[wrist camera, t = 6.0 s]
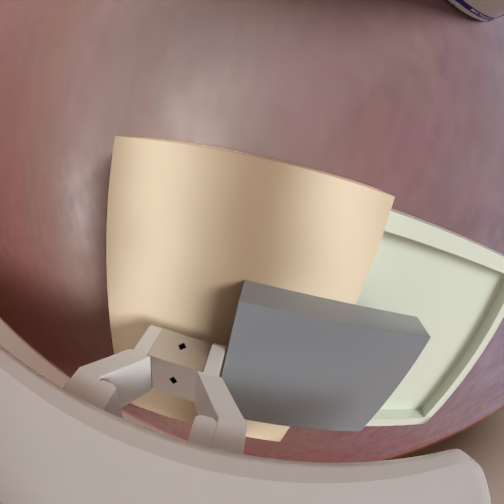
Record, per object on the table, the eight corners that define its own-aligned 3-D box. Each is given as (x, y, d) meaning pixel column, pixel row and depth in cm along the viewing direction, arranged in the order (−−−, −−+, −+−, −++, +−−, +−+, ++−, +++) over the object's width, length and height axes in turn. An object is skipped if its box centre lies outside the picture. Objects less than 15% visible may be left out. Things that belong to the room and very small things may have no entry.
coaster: (218, 389, 12) (213, 412, 10) (244, 279, 9) (239, 300, 8) (356, 410, 11) (360, 431, 10) (417, 316, 9) (430, 337, 8)
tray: (288, 405, 15) (288, 420, 14) (373, 202, 10) (383, 208, 9) (421, 411, 15) (425, 423, 14) (514, 260, 10) (526, 268, 9)
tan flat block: (137, 373, 15) (122, 399, 13) (146, 136, 10) (114, 136, 8) (281, 410, 15) (279, 441, 13) (371, 186, 10) (394, 196, 8)
